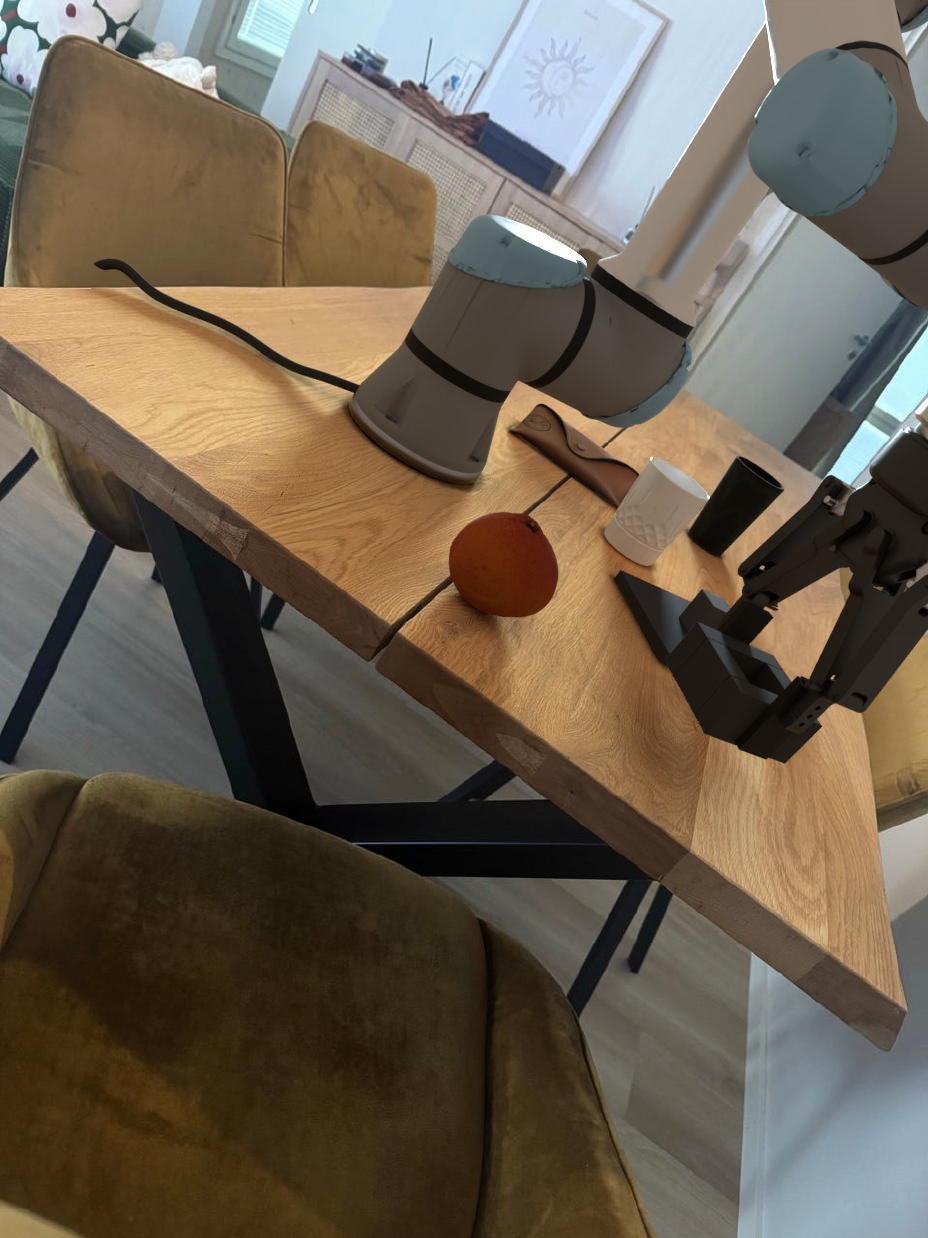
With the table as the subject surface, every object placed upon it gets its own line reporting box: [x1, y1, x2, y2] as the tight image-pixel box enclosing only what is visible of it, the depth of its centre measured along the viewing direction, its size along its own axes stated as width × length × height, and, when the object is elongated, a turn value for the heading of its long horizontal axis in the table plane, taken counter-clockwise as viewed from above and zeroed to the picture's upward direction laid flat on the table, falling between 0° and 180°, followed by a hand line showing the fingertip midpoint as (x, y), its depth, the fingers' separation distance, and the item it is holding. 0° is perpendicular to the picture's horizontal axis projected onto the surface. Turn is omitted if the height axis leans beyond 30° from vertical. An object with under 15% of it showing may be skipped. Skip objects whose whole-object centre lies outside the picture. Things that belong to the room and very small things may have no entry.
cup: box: [687, 455, 785, 557], centre depth 123 cm, size 8×8×12 cm
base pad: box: [613, 569, 732, 666], centre depth 91 cm, size 14×14×5 cm
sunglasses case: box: [509, 403, 640, 508], centre depth 119 cm, size 18×7×7 cm
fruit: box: [448, 511, 560, 618], centre depth 71 cm, size 9×9×8 cm
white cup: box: [603, 456, 710, 567], centre depth 103 cm, size 8×8×10 cm
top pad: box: [664, 622, 823, 765], centre depth 66 cm, size 8×8×4 cm
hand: (725, 708), depth 67 cm, fingers closed on top pad, 8 cm apart
